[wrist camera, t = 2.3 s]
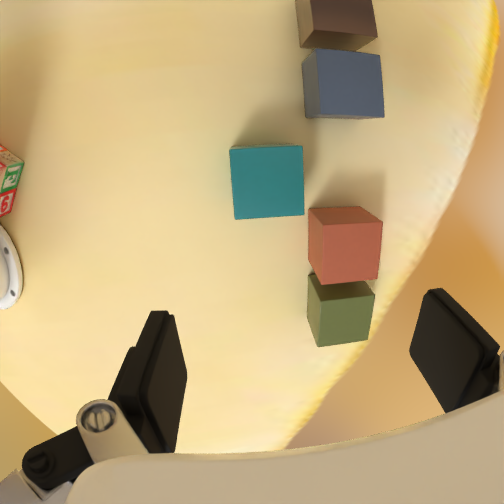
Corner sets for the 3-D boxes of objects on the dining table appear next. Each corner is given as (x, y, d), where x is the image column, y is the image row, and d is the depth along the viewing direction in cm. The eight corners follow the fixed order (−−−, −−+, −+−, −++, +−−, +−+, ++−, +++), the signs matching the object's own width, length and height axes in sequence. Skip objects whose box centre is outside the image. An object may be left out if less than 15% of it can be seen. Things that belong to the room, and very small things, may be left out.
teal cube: (235, 204, 26) (234, 220, 21) (230, 146, 24) (229, 149, 20) (292, 200, 26) (304, 215, 21) (290, 143, 24) (302, 145, 20)
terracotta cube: (308, 208, 26) (322, 225, 22) (360, 206, 27) (383, 221, 22) (308, 260, 28) (321, 285, 24) (357, 256, 28) (377, 279, 24)
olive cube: (307, 274, 29) (320, 301, 24) (356, 270, 29) (375, 294, 24) (306, 317, 31) (317, 347, 26) (351, 312, 31) (367, 340, 26)
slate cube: (301, 62, 22) (315, 48, 17) (356, 66, 22) (380, 54, 17) (305, 117, 23) (320, 114, 19) (359, 119, 24) (385, 117, 19)
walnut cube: (294, 0, 19) (306, -24, 14) (348, 6, 19) (368, -15, 15) (299, 47, 21) (313, 29, 16) (354, 51, 21) (378, 37, 16)
